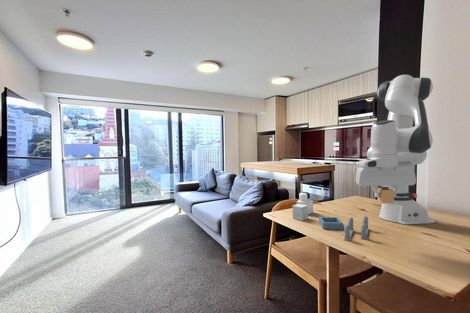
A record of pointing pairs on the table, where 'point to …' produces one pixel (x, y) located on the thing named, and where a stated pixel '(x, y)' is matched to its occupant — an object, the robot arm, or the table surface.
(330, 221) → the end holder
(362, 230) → the clip
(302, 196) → the medicine bottle
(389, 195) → the block with round knob
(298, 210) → the product box
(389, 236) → the table surface
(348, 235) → the clip
